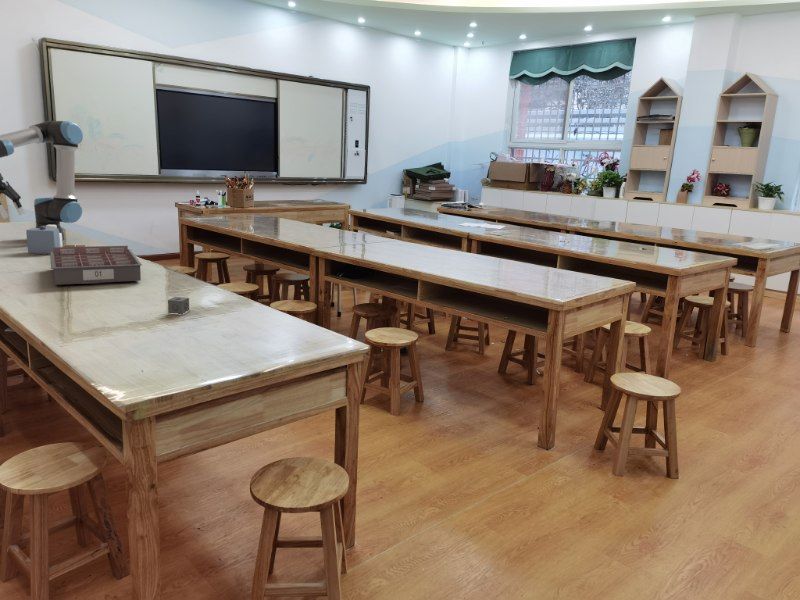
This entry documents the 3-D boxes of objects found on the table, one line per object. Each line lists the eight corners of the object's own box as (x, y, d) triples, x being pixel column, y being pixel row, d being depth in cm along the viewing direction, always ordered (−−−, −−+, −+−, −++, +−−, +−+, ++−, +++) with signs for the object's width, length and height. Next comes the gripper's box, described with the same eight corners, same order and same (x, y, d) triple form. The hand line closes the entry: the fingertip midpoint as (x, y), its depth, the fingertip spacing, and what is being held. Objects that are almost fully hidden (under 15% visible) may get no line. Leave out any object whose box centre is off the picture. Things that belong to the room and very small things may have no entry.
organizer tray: (52, 288, 230) (50, 263, 227) (51, 269, 263) (49, 246, 261) (143, 284, 246) (142, 260, 243) (131, 266, 279) (130, 245, 277)
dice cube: (168, 314, 204) (167, 299, 203) (175, 310, 209) (175, 296, 208) (182, 315, 203) (181, 301, 202) (189, 311, 208) (189, 297, 207)
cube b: (76, 253, 303) (76, 245, 302) (85, 253, 305) (85, 245, 304) (75, 254, 300) (75, 246, 299) (84, 254, 301) (84, 246, 300)
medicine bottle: (47, 246, 317) (45, 223, 314) (62, 246, 319) (61, 223, 316) (44, 248, 310) (42, 225, 307) (59, 248, 312) (58, 225, 310)
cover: (34, 250, 301) (31, 224, 298) (60, 250, 304) (58, 225, 301) (28, 252, 294) (25, 226, 291) (55, 253, 296) (53, 227, 293)
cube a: (66, 252, 303) (65, 244, 302) (75, 252, 304) (74, 245, 303) (64, 254, 299) (63, 246, 298) (73, 254, 300) (72, 246, 299)
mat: (37, 250, 303) (37, 249, 303) (59, 251, 306) (59, 249, 305) (29, 254, 292) (28, 253, 292) (51, 255, 294) (51, 253, 294)
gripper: (-31, 181, 291) (-8, 222, 299) (-1, 172, 280) (23, 215, 288) (-17, 176, 297) (5, 216, 305) (14, 167, 286) (36, 209, 294)
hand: (14, 216), depth 297 cm, fingers open, 13 cm apart
